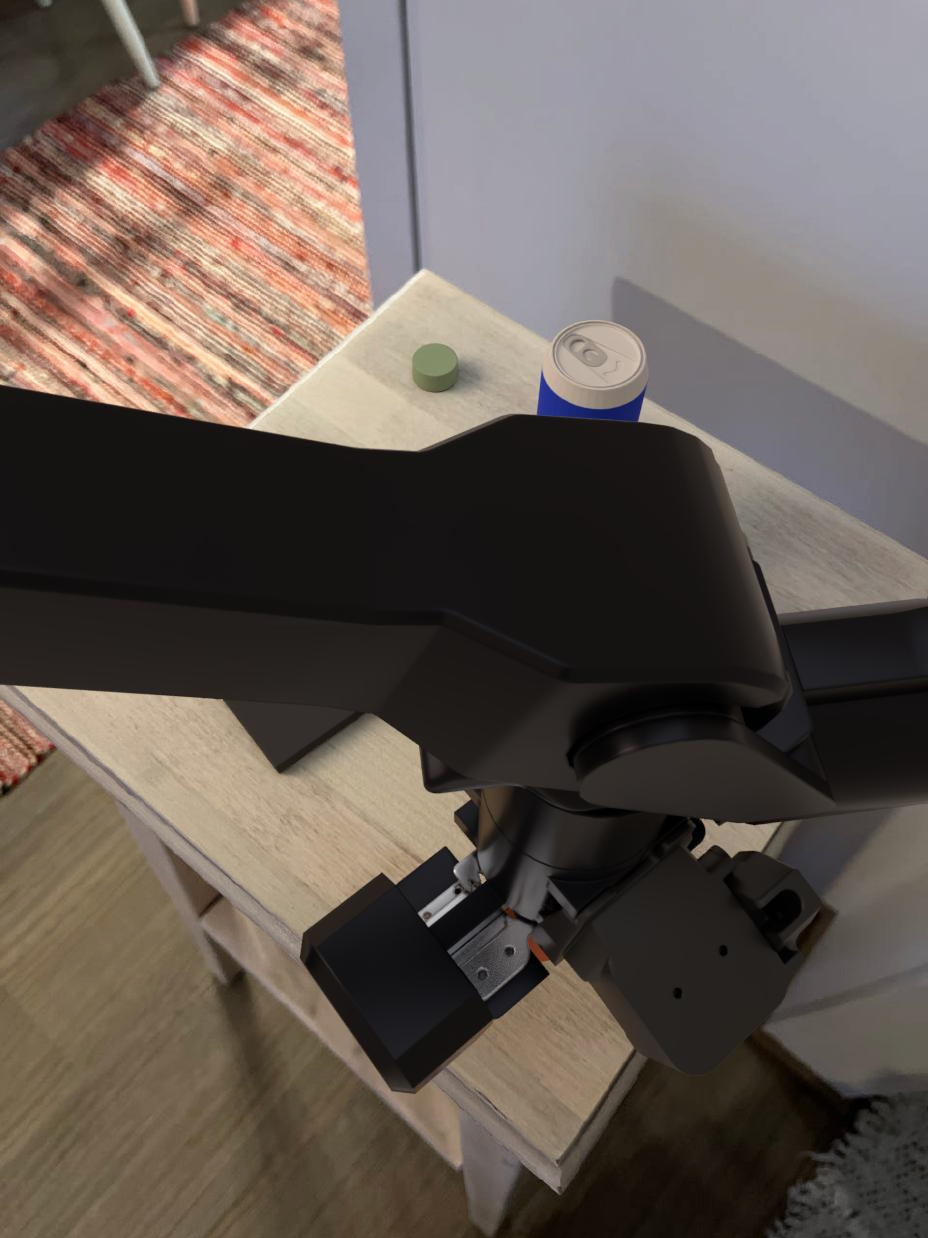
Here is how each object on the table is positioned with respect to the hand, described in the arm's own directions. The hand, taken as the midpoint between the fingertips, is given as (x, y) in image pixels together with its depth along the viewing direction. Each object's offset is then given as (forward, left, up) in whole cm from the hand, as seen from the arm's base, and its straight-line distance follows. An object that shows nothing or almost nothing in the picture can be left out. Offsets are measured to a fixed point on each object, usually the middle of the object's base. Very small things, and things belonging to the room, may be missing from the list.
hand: (537, 909), depth 43 cm
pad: (+19, +32, -5) cm, 38 cm away
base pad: (+2, +20, -5) cm, 21 cm away
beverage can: (+17, +16, -6) cm, 24 cm away
